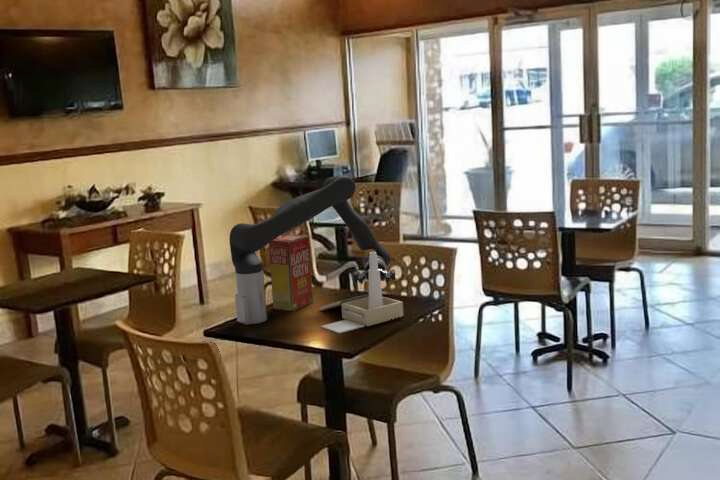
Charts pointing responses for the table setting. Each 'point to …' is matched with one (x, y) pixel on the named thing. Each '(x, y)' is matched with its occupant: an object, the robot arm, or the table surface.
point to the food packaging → (290, 272)
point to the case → (371, 310)
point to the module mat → (342, 326)
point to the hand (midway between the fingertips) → (374, 280)
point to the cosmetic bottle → (374, 283)
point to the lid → (336, 303)
